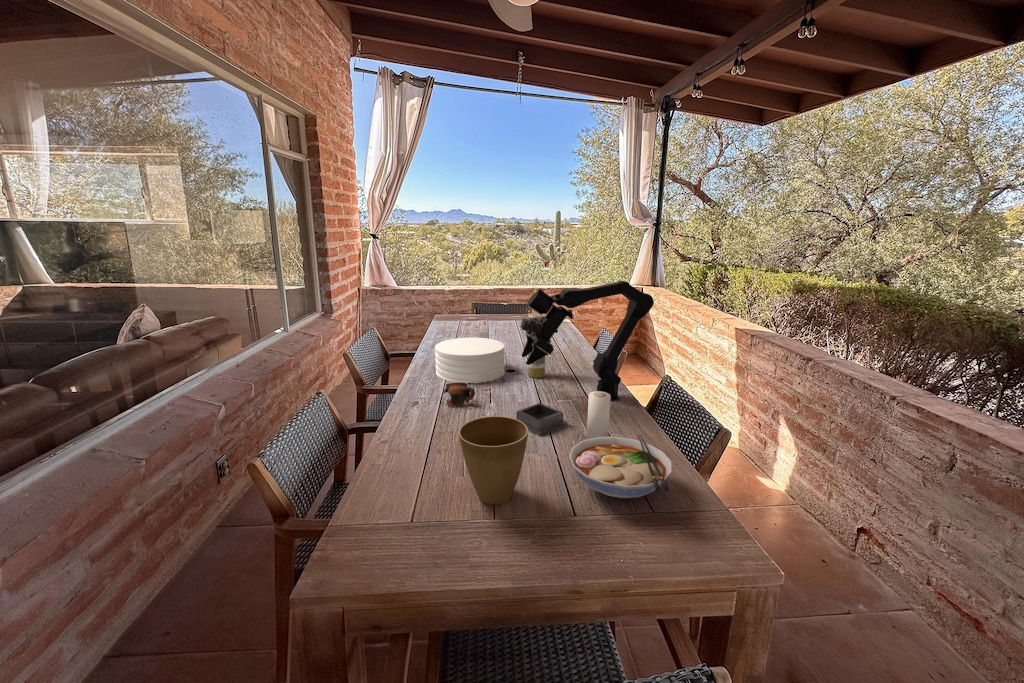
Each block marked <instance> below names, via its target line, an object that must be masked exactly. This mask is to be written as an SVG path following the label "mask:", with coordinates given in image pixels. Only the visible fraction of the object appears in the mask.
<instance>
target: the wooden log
mask: <svg viewBox="0 0 1024 683" xmlns="http://www.w3.org/2000/svg"><path fill="white" fill-rule="evenodd" d="M546 315H547V314H542V315H541V314H539V313H538V312H536V313H535V312H533V313H532V312H531V313H528V319H529V320H530V319H531V320H533V321H534V320H535V321H536V322H539V320H540V319H544V318H545V316H546ZM530 354H531V353H529V354H528V355H527V359H528V358H529V356H530ZM545 373H546V356H544V357H542V358H540V359H538V360H537V361H535V362H533V363H532V364H530V365H527V375H528V377H530V378H532V379H540V378H543V377H545V375H546V374H545Z"/></svg>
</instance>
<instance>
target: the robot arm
mask: <svg viewBox="0 0 1024 683" xmlns="http://www.w3.org/2000/svg"><path fill="white" fill-rule="evenodd" d="M616 295H622V296H624V298H626V299H627V300H628V303H627V307H626V314H625V316H624V318H623V319H622V321H621V323H620V325H619V326H618V329H617V331H616V332H615V334H614V335H613V337H612V338H611V341H610V343H609V345H608V346H607V348H606V350H605V351H604V352H602V353H601V352H600V351H598V352H597V354H596V357H595V358H594V360H592V362H593V364H592V369H593V372H594V373H595V374H596V375H597V376H598V378H599V379H598V381H597V382H598V384H597V385H596V391H601V392H606V393H608V394H610V395H611V399H610V401H615V400H617V399H618V400H621V397H620V396H619V385H620V383H621V381H622V378H621V377H620V376H619V375H618V374H617V373H616V371H617V368H618V364H619V362H618V361H619V357H620V355H621V353H622V351H623V349H624V348H625V346H626V344H627V343H628V341H629V339H630V337H631V336H632V334H633V332H634V330H635V328H636V327H637V324H638V323H639V322H640V320H642V319H643V318H644V317H645V316H647V314H649V312H650V311H651V309H652V308H653V307H654V304H655V303H654V302H655V300H654V297H653V296H652V295H651V294H648V293H645V292H643V291H640V290H639V289H637V288H636V287H635V286H633V285H631V284H630V283H629V282H628V281H625V280H618V281H615V282H610V283H605V284H601V285H600V284H599V285H596V286H590V287H585V288H577V287H575V288H574V287H572V288H563V289H562V290H561V291H560V292H559V293H556V294H554V295H551V296H550V295H549V294H547V293H545V291H544V290H542V289H541V288H537V291H535V292H534V293H533V294H532V295H530V297H529V299H528V301H527V303H526V305H527V307H528V308H530V309H532V310H534V311H535V312H536V313H539V314H541V315H542V314H546V316H545V318H544V319H540V320H539V322H536V321H535V320H534V321H533V320H531V319H530V320H529V318H525V317H524V318H522V320H521V323H520V328H521V330H522V331H524V332H525V337H526V343H525V346H524V348H523V350H522V352H521V357H522V358H525V357H527V360H526V362H525V364H526V365H527V366H528V365H530V364H532V363H533V362H535V361H537V360H538V359H540V358H542V357H544V356H545V357H546V356H549V355H551V354H552V353H553V352H554V351H555V350H554V346H553V344H552V343H551V342H552V341H551V339H552V338H553V337H554V335H555V334H557V333H559V330H558V329H559V327H561V325H562V324H563V322H564V321H565V320H566V318H567V317H568V318H569V319H571V320H573V319H574V315H573V310H572V309H574V308H577V307H579V306H582V305H584V304H585V303H587V302H590V301H593V300H598V299H602V298H603V299H604V298H608V297H612V296H616ZM554 303H555V304H556V305H557V306H556V305H555V304H554ZM566 308H567V309H566ZM529 353H531V354H530V356H529V358H528V354H529Z"/></svg>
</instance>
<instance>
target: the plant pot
mask: <svg viewBox="0 0 1024 683" xmlns="http://www.w3.org/2000/svg"><path fill="white" fill-rule="evenodd" d="M458 436H459V441H460V447H461V451H462V455H463V458H464V463H465V465H466V466H465V467H466V469H467V473H468V475H469V477H470V481H471V482H472V485H473V488H474V489H475V492H476V494H477V495H478V498H479V499H480V501H481V502H483V503H485V504H487V505H502V504H504V503H507V502H508V501H510V499H511V498H512V495H513V493H514V492H515V491H514V490H515V489H516V485H517V483H518V480H519V477H520V474H521V469H522V466H523V463H524V458H525V453H526V448H527V442H528V436H529V431H528V428H527V426H526V425H525V424H524V423H523V422H521V421H519V420H517V418H513V417H510V416H500V415H496V416H495V415H491V416H483V417H477V418H475V419H471V420H469V421H467V422H465V423H464V424H463V425H461V426H460V428H459V430H458Z"/></svg>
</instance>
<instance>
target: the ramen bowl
mask: <svg viewBox="0 0 1024 683" xmlns="http://www.w3.org/2000/svg"><path fill="white" fill-rule="evenodd" d="M637 436H638V440H637V439H635V438H628V437H621V436H608V437H596V438H592V439H584V440H581V441H580V442H578V443H577V444H575V445H574V446H572V448H571V450H570V453H569V454H568V457H569V458H570V461H571V464H572V466H573V468H574V470H575V473H576V474H577V476H578V477H579V479H581V480H582V481H583V482H584V484H586V485H587V486H588V487H590V488H591V489H592V490H594V491H597V492H598V493H601V494H603V495H606V496H609V497H614V498H619V499H631V498H632V499H633V498H639V497H643V496H646V495H649V494H651V493H653V492H655V491H660V486H663V489H664V491H665V492H668V491H669V490H670V488H669V485H668V484H667V482H666V480H667V479H668V478H669V477H670V475H671V473H672V472H673V462H672V460H671V459H670V458H669V457H668V456H667V454H666V453H665V452H664V451H663V450H660V449H659V448H658V447H655V446H654V445H652V444H650V443H647V442H645V440H644V438H643V437H642V435H641V434H640V435H639V434H637Z"/></svg>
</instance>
